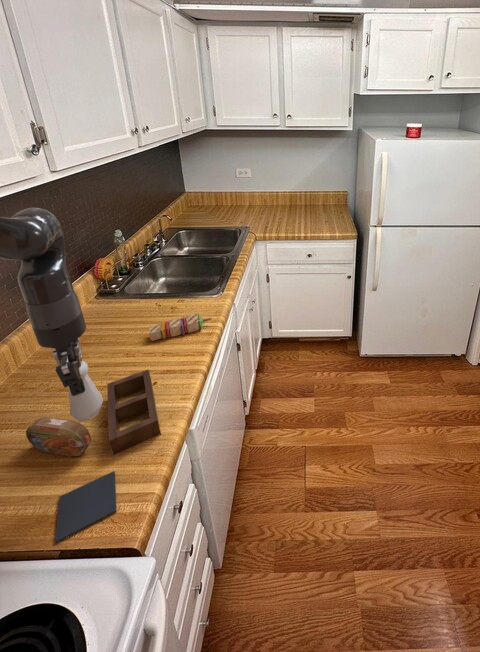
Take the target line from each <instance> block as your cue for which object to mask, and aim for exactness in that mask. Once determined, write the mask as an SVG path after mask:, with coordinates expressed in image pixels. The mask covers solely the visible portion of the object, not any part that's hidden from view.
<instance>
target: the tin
mask: <svg viewBox="0 0 480 652" xmlns="http://www.w3.org/2000/svg"><path fill="white" fill-rule="evenodd" d="M25 435H26V439H27V440H28V442H29V444H31V446H33V447H34V448H35V449H36V450H38V451H40V452H42V453H49V454H56V455H61V456H68V457H79V456H81V455H83V454H84V452H85V451H86V450H87V448H88V447H89V446H90V444H91V442H92V437H91V434H90V431H89V429H88V428H87V427H86V426H85V425H84V424H83V423H82V422H80V421H77V420H69V419H64V418H57V417H48V416H45V417H44V416H43V417H40V418H38V419H37V420H36V421H34V423H32V424H31V425H29V426H28V427H27V428H26V430H25Z"/></svg>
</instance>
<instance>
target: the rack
mask: <svg viewBox="0 0 480 652" xmlns="http://www.w3.org/2000/svg"><path fill="white" fill-rule="evenodd" d="M106 387H107V391H106V392H107V431H108V443H109V447H110V450H111V453H112V456H116V455H119V454H120V453H123V452H124V451H126V450H129V449H131V448H133V447H136V446H138V445H141V444H142V443H143V444H144V442H147V441H149V440H152V439H154V438H156V437H158V436H161V435H162V432H161V426H160V421H159V414H158V410H157V404H156V399H155V393H154V387H153V381H152V378H151V374H150V370H149V369H145V370H143V371H140V372H137V373H134V374H132V375H128V376H125V377H123V378H120V379H117V380H114V381H111V382H109V383H107V386H106ZM142 390H144V391H145V393H142V394H139V395H137V396H135V397H131V398H129V399H127V400H124V401H122V402H119V399H121V398H123V397H126V396H129V395H131V394H134V393H137V392H140V391H142ZM145 413H148V416H149V418H147V419H145V420H142V421H139V422H137V423H135V424H132V425H130V426H127V427H125V428H123V429H121V427H120V424H121V423H123V422H126V421H128V420H131V419H133V418H136V417H138V416H141V415H143V414H145Z"/></svg>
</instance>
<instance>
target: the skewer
mask: <svg viewBox="0 0 480 652" xmlns="http://www.w3.org/2000/svg"><path fill="white" fill-rule="evenodd" d="M208 321H212V317H208V318H203V317H202V316H201V314H200V313H193V314H189V315H186V316H183V317H180V318H175V319H170V320H168V321H167V320H166V321H165V322H164V321H163V322H160V323H158V324H154V325H150V326H149V332H148V333H149V336H148V337H149V340H150V341H151V342H153V341H157V340H160V339H163V340H165V339H166V338H170V337H171V338H172V337H177V336H180V335H182V336H184V335H185V334H190V333H193V332H196V331H199V330H203V328H204V327H203V326H204V323H205V322H208Z"/></svg>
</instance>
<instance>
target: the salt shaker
mask: <svg viewBox="0 0 480 652" xmlns="http://www.w3.org/2000/svg"><path fill="white" fill-rule="evenodd" d="M76 362H77V361H75V362H73V363H76ZM81 362H82V364H81V367H80V371H81V374H82V379H83V383H84V386H85V392H84V393H81V394H78V395H75V396H72V394H71V391H70V388H69V386H68V387H67V389H68V399H69V400H68V401H69V402H68V403H69V414H70V416H71V417H72V418H73V419H75V420H76V421H77V422H79V423H83V422H90V421H91V420H93V419H94V418H95V417H97V416H98V415H99V412H100V411H101V408H102V405H103V396H102V394H101V392H100V391H99V389H98V388H97V387H96V385H95V383H94V382H93V380H92V379H91V377H90V376H89V374H88V372H89V364H88V363H87V362H86V361H85V360H82V361H81Z"/></svg>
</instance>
